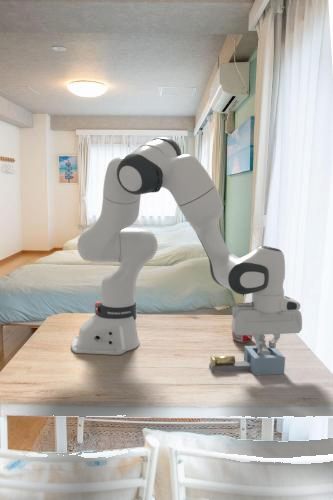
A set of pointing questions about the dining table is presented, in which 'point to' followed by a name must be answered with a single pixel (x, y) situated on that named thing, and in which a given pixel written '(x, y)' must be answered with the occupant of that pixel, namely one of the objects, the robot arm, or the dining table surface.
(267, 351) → the rook chess piece
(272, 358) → the mount
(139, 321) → the dining table surface
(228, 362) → the lock pin
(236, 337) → the soda can
